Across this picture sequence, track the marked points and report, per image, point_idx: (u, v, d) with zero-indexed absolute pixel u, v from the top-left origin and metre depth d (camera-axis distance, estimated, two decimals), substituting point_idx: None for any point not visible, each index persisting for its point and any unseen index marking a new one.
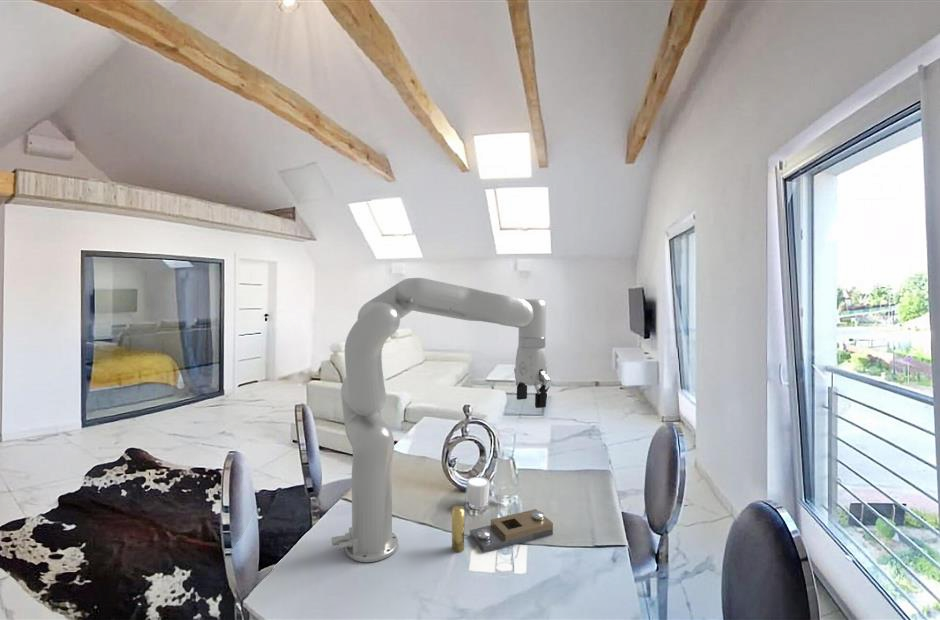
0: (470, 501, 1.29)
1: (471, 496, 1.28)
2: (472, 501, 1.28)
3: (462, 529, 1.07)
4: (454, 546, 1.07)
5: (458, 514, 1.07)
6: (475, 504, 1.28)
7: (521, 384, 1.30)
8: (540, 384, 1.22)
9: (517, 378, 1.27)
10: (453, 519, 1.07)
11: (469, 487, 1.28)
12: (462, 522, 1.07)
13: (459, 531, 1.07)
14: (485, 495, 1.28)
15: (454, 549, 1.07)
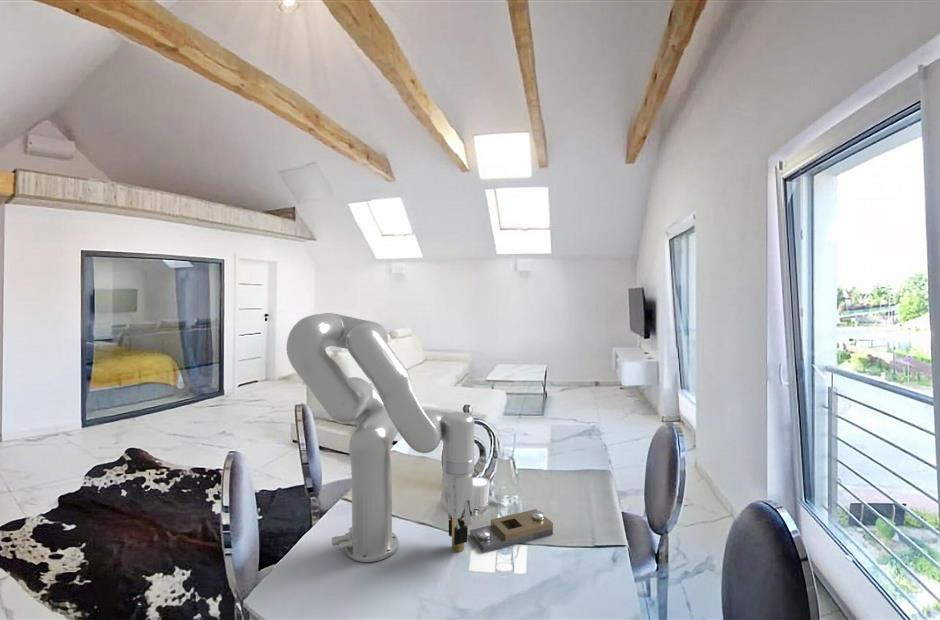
0: None
1: None
2: None
3: None
4: (454, 546, 1.07)
5: None
6: (475, 504, 1.28)
7: None
8: None
9: (443, 503, 1.10)
10: (453, 519, 1.07)
11: None
12: None
13: None
14: (485, 495, 1.28)
15: (454, 549, 1.07)
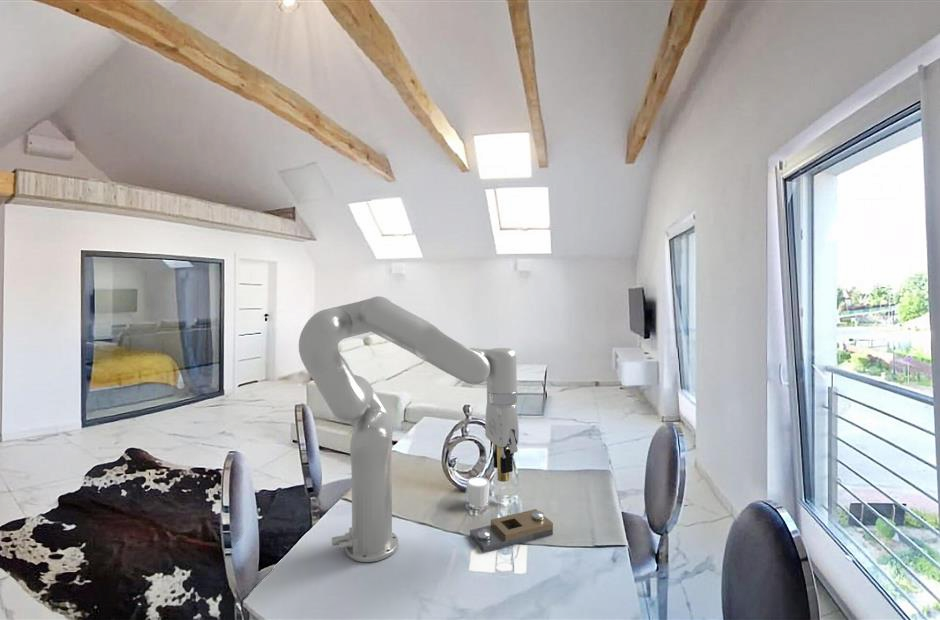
0: (470, 501, 1.29)
1: (471, 496, 1.28)
2: (472, 501, 1.28)
3: None
4: (500, 476, 1.11)
5: None
6: (475, 504, 1.28)
7: None
8: None
9: (487, 436, 1.14)
10: (498, 450, 1.11)
11: (469, 487, 1.28)
12: None
13: None
14: (485, 495, 1.28)
15: (500, 479, 1.11)
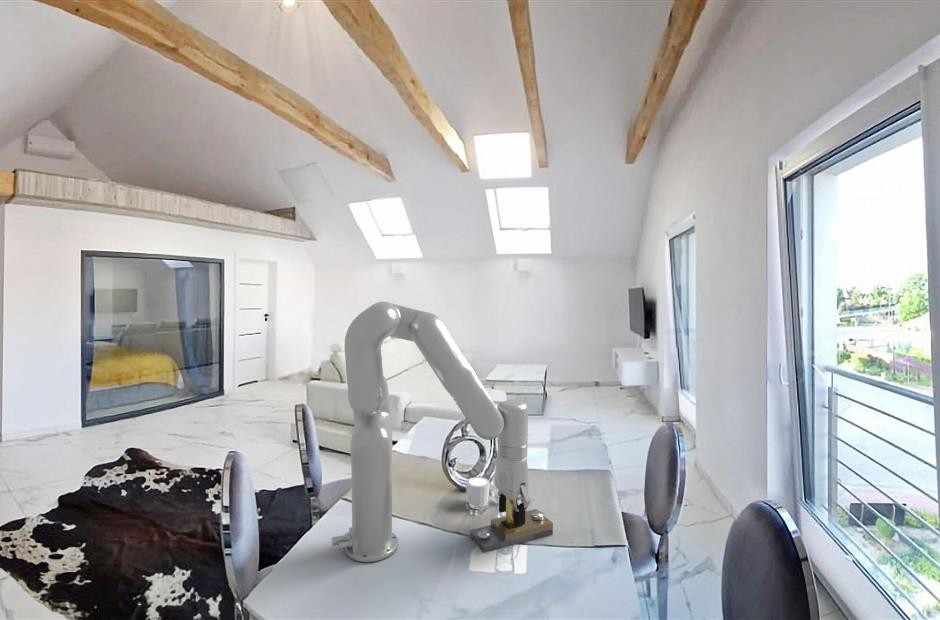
0: (470, 501, 1.29)
1: (471, 496, 1.28)
2: (472, 501, 1.28)
3: None
4: None
5: (513, 502, 1.13)
6: (475, 504, 1.28)
7: (504, 495, 1.17)
8: None
9: (497, 486, 1.16)
10: (507, 507, 1.13)
11: (469, 487, 1.28)
12: None
13: None
14: (485, 495, 1.28)
15: None
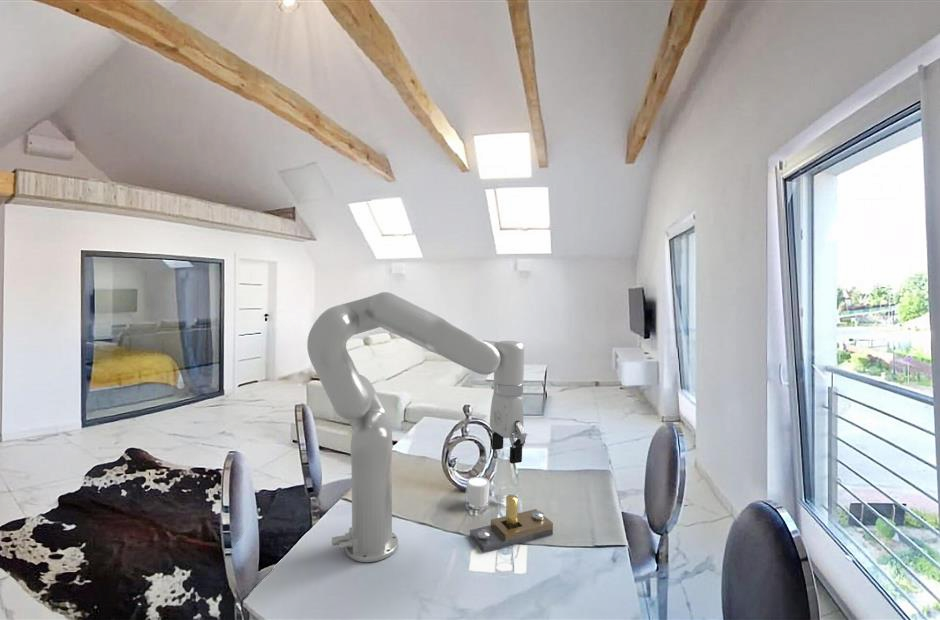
0: (470, 501, 1.29)
1: (471, 496, 1.28)
2: (472, 501, 1.28)
3: (516, 516, 1.13)
4: None
5: (513, 503, 1.13)
6: (475, 504, 1.28)
7: (497, 433, 1.18)
8: (516, 436, 1.10)
9: (492, 427, 1.15)
10: (508, 507, 1.13)
11: (469, 487, 1.28)
12: (516, 510, 1.13)
13: (514, 518, 1.13)
14: (485, 495, 1.28)
15: None
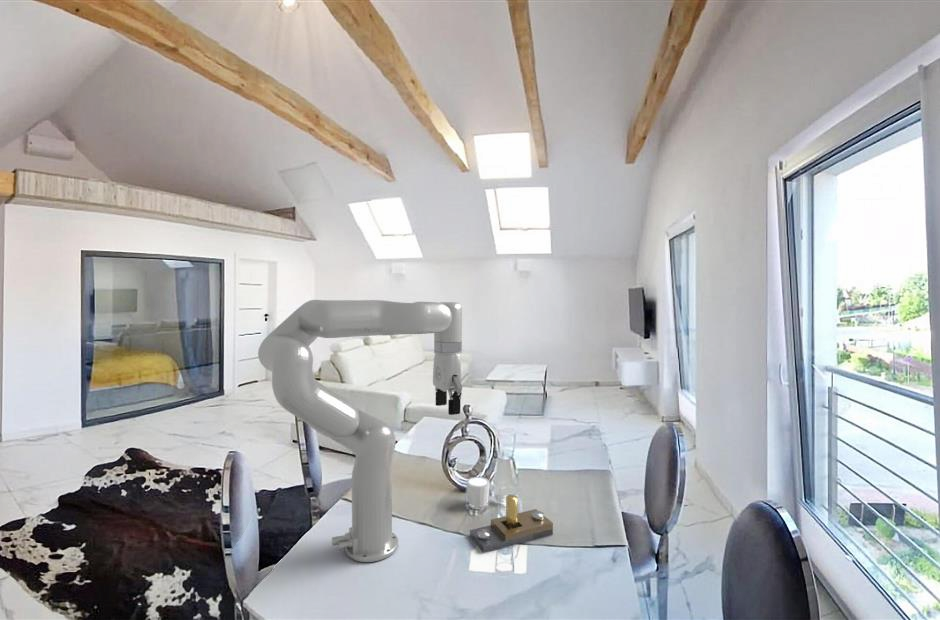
0: (470, 501, 1.29)
1: (471, 496, 1.28)
2: (472, 501, 1.28)
3: (516, 516, 1.13)
4: None
5: (513, 503, 1.13)
6: (475, 504, 1.28)
7: (440, 390, 1.26)
8: (454, 390, 1.18)
9: (434, 384, 1.23)
10: (507, 507, 1.13)
11: (469, 487, 1.28)
12: (516, 510, 1.13)
13: (514, 518, 1.13)
14: (485, 495, 1.28)
15: None
